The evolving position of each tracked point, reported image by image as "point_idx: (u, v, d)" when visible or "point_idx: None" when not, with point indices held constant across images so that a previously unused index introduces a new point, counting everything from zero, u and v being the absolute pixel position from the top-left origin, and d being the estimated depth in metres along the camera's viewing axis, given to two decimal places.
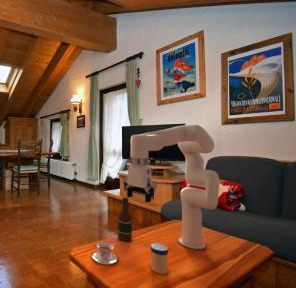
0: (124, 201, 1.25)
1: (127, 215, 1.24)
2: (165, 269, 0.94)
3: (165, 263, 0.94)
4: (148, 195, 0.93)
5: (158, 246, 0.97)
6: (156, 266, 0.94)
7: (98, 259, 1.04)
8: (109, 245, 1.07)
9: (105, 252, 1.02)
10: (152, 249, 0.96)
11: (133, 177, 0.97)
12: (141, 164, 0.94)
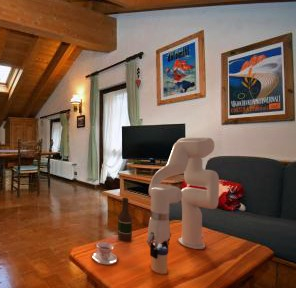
0: (124, 201, 1.25)
1: (127, 215, 1.24)
2: (165, 269, 0.94)
3: (165, 263, 0.94)
4: (167, 246, 0.98)
5: (158, 246, 0.97)
6: (156, 266, 0.94)
7: (98, 259, 1.04)
8: (109, 245, 1.07)
9: (105, 252, 1.02)
10: None
11: (163, 233, 0.94)
12: None
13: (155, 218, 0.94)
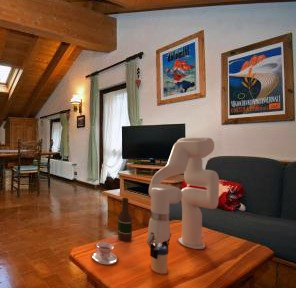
0: (124, 201, 1.25)
1: (127, 215, 1.24)
2: (165, 269, 0.94)
3: (165, 263, 0.94)
4: (167, 246, 0.98)
5: (159, 246, 0.96)
6: (156, 266, 0.94)
7: (98, 259, 1.04)
8: (109, 245, 1.07)
9: (105, 252, 1.02)
10: (165, 252, 0.93)
11: (163, 233, 0.94)
12: None
13: (155, 218, 0.94)
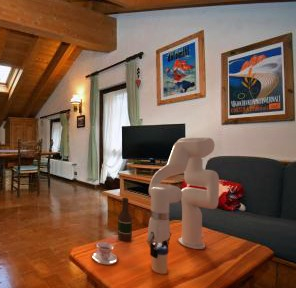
0: (124, 201, 1.25)
1: (127, 215, 1.24)
2: (165, 269, 0.94)
3: (165, 263, 0.94)
4: (167, 246, 0.98)
5: (160, 246, 0.96)
6: (157, 266, 0.94)
7: (98, 259, 1.04)
8: (109, 245, 1.08)
9: (105, 252, 1.02)
10: None
11: (163, 233, 0.94)
12: None
13: (155, 218, 0.94)
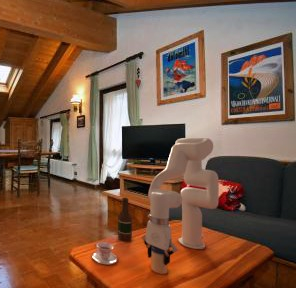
0: (124, 201, 1.25)
1: (127, 215, 1.24)
2: (165, 269, 0.94)
3: None
4: None
5: None
6: (157, 266, 0.94)
7: (98, 259, 1.04)
8: (109, 245, 1.08)
9: (105, 252, 1.02)
10: None
11: None
12: None
13: (168, 223, 0.94)
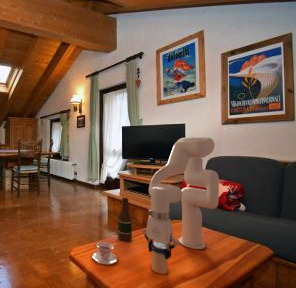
0: (124, 201, 1.25)
1: (127, 215, 1.24)
2: (166, 268, 0.94)
3: (166, 263, 0.94)
4: None
5: (158, 245, 0.97)
6: (158, 266, 0.94)
7: (98, 259, 1.04)
8: (109, 245, 1.07)
9: (105, 252, 1.02)
10: (156, 250, 0.94)
11: None
12: None
13: (168, 218, 0.94)
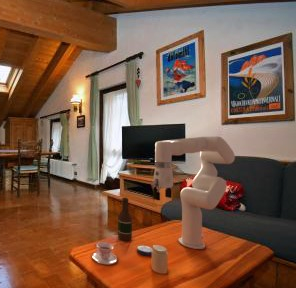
0: (124, 201, 1.25)
1: (127, 215, 1.24)
2: (166, 268, 0.94)
3: (166, 263, 0.94)
4: None
5: (144, 248, 1.11)
6: (158, 266, 0.94)
7: (98, 259, 1.04)
8: (109, 245, 1.08)
9: (105, 252, 1.02)
10: (150, 253, 1.09)
11: None
12: (155, 166, 1.11)
13: None
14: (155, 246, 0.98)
